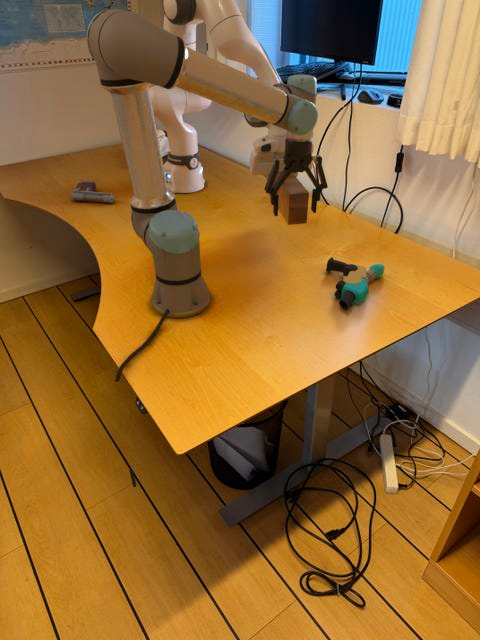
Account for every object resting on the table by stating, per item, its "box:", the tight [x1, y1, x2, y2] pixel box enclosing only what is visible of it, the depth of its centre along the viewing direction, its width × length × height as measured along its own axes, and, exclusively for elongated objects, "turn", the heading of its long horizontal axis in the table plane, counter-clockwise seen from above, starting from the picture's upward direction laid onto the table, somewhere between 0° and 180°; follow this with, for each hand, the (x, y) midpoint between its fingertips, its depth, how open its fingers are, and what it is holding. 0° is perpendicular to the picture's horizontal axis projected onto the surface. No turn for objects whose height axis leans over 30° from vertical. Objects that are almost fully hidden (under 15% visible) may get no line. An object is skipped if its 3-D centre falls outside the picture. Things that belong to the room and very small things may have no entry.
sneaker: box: [157, 129, 170, 158], centre depth 220 cm, size 10×29×12 cm, turn 163°
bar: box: [268, 172, 310, 226], centre depth 149 cm, size 25×6×10 cm, turn 11°
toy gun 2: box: [325, 257, 386, 312], centre depth 129 cm, size 4×26×15 cm
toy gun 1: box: [69, 180, 115, 204], centre depth 185 cm, size 4×19×15 cm
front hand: (294, 212), depth 144 cm, fingers open, 11 cm apart
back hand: (280, 185), depth 156 cm, fingers closed on bar, 6 cm apart
